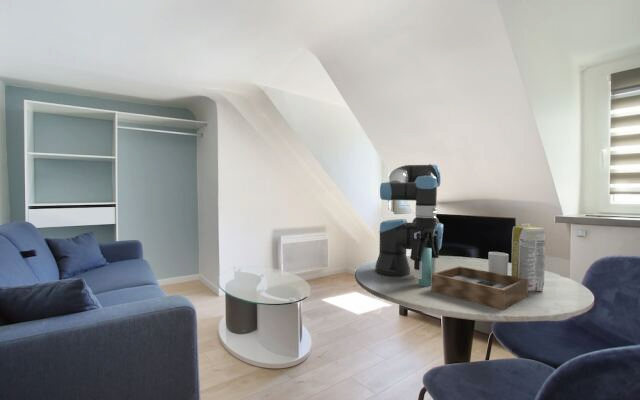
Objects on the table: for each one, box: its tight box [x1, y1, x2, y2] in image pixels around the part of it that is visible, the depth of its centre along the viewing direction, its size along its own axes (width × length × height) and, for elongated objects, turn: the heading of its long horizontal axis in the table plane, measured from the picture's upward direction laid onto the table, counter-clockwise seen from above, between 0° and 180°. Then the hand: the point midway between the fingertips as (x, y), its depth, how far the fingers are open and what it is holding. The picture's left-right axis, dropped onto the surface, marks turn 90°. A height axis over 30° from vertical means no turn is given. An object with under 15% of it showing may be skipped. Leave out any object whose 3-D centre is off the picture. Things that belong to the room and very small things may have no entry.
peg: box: [418, 247, 432, 288], centre depth 120 cm, size 4×4×14 cm
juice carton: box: [510, 223, 546, 292], centre depth 116 cm, size 9×8×24 cm
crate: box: [430, 265, 529, 311], centre depth 110 cm, size 24×20×6 cm
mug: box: [487, 251, 509, 275], centre depth 123 cm, size 10×7×12 cm, turn 170°
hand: (424, 276), depth 121 cm, fingers open, 8 cm apart
